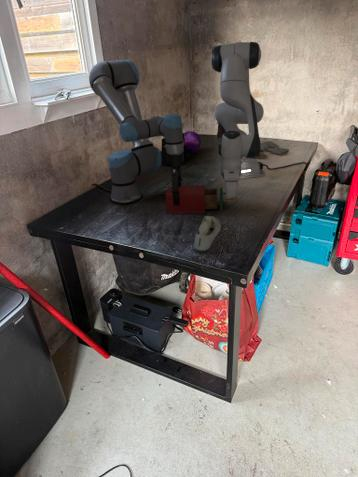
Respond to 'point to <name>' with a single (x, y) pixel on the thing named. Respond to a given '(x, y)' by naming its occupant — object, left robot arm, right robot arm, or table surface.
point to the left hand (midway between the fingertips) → (178, 199)
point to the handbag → (163, 153)
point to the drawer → (214, 198)
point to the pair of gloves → (271, 149)
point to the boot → (220, 131)
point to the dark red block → (186, 200)
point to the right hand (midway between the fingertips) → (230, 199)
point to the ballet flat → (206, 233)
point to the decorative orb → (192, 141)
